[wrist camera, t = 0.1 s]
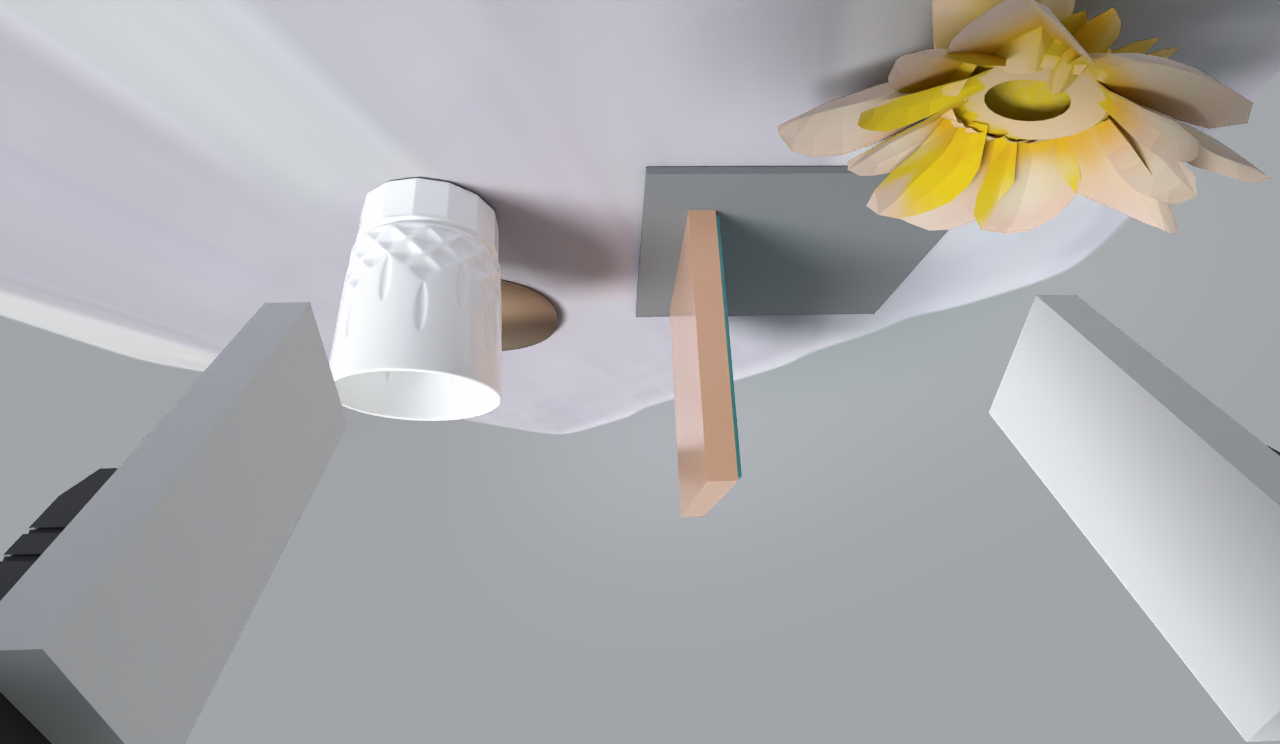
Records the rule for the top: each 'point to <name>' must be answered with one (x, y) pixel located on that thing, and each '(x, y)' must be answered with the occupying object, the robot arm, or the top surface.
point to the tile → (703, 370)
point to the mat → (779, 239)
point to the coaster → (525, 316)
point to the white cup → (421, 306)
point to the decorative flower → (1029, 121)
